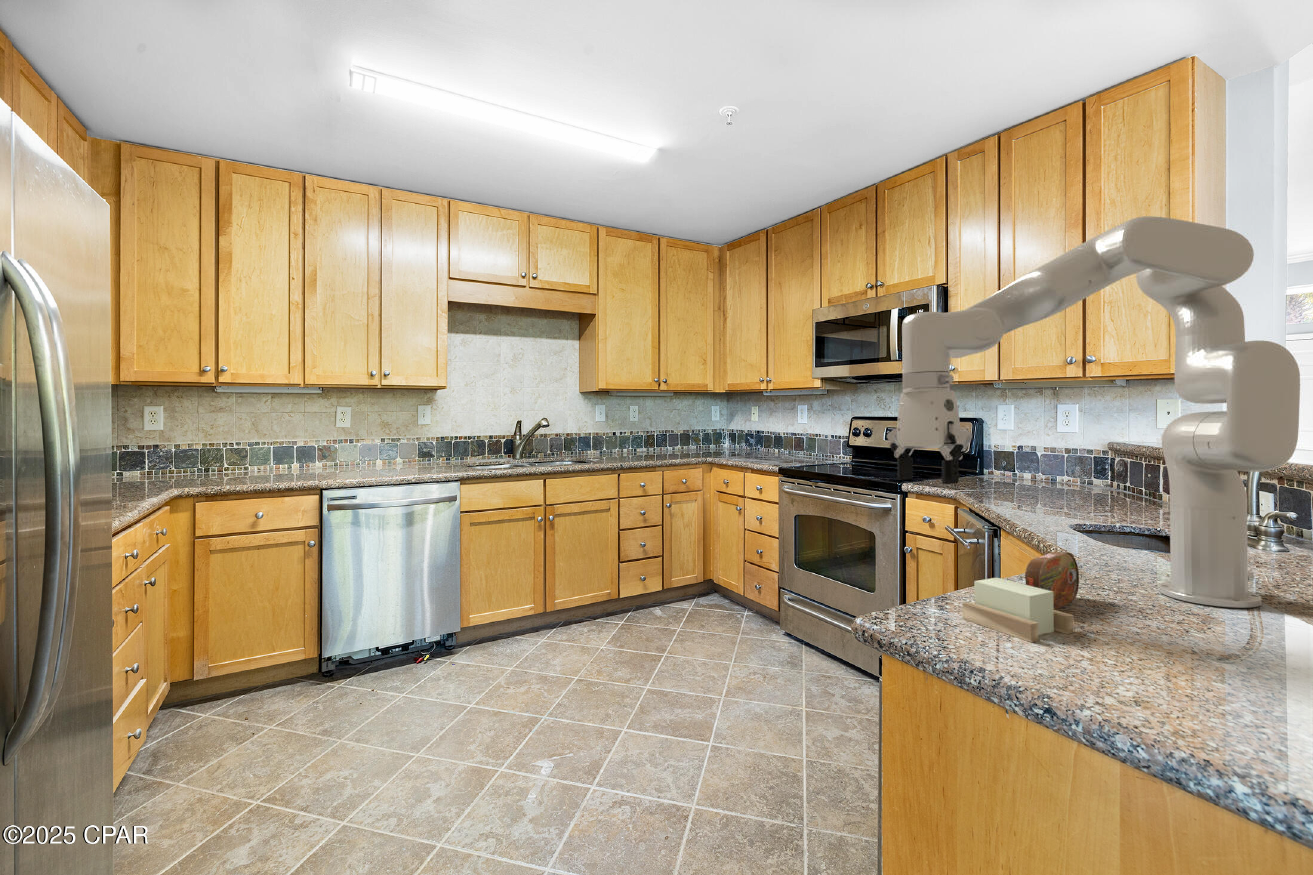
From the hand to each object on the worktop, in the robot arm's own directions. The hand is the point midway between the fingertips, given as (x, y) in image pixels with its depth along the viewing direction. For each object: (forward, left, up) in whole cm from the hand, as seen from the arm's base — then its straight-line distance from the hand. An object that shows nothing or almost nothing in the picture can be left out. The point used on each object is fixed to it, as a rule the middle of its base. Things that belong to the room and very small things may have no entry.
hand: (926, 481), depth 102 cm
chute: (0, +16, -21) cm, 26 cm away
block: (0, +16, -21) cm, 26 cm away
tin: (-15, +12, -21) cm, 28 cm away
